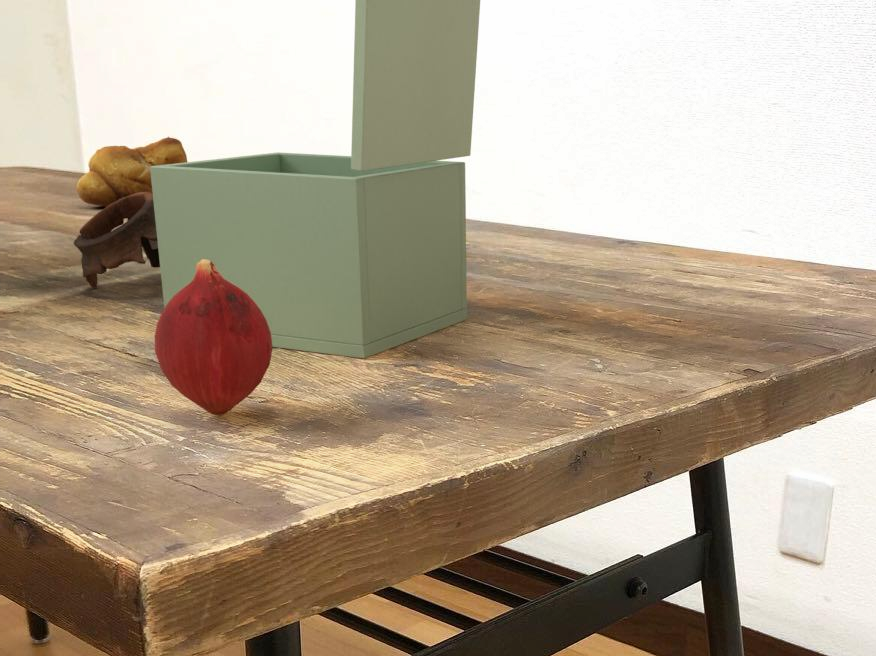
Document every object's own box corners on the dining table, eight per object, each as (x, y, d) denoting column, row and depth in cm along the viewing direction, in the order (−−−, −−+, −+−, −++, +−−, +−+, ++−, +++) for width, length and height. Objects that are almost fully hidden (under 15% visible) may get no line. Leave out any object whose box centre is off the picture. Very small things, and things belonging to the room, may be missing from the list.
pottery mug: (224, 300, 96) (162, 210, 91) (119, 354, 97) (52, 267, 92) (225, 239, 106) (170, 154, 101) (130, 288, 107) (70, 207, 101)
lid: (358, -146, 66) (371, -146, 66) (476, -116, 78) (488, -116, 77) (350, 169, 73) (361, 171, 72) (460, 154, 84) (470, 155, 84)
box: (166, 333, 83) (149, 166, 79) (287, 299, 94) (277, 152, 90) (364, 358, 77) (356, 178, 73) (467, 319, 88) (465, 162, 84)
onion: (298, 415, 65) (288, 261, 62) (201, 437, 61) (186, 274, 58) (237, 394, 68) (225, 248, 66) (142, 414, 65) (125, 259, 62)
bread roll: (83, 211, 143) (74, 139, 140) (72, 202, 151) (63, 134, 148) (196, 207, 148) (189, 137, 145) (179, 198, 156) (172, 132, 153)
